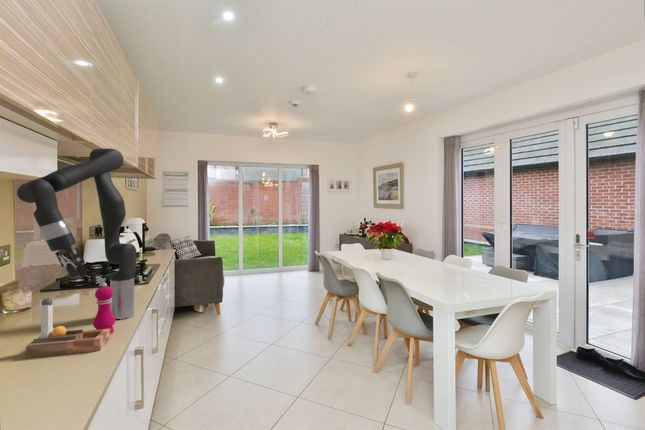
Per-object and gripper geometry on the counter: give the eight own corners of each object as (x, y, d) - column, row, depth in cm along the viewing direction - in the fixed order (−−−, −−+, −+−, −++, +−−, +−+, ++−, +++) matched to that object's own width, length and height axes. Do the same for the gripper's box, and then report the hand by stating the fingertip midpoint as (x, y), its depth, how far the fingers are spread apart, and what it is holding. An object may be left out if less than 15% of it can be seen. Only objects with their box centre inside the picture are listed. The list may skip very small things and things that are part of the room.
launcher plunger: (45, 336, 113) (44, 297, 113) (55, 335, 114) (55, 296, 114) (38, 341, 109) (38, 300, 109) (49, 340, 110) (48, 299, 110)
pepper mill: (91, 333, 127) (91, 282, 127) (112, 328, 132) (112, 279, 132) (95, 338, 122) (94, 286, 122) (117, 333, 127) (117, 283, 127)
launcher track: (42, 345, 116) (42, 331, 116) (110, 339, 122) (110, 325, 122) (26, 357, 106) (26, 342, 106) (100, 350, 112) (100, 335, 112)
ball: (55, 336, 114) (55, 324, 114) (68, 334, 115) (68, 323, 115) (49, 340, 110) (49, 329, 110) (63, 339, 112) (63, 327, 111)
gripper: (78, 229, 113) (98, 270, 117) (62, 232, 121) (82, 271, 125) (53, 237, 107) (75, 281, 111) (38, 241, 115) (59, 281, 119)
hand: (79, 276), depth 118 cm, fingers open, 8 cm apart
